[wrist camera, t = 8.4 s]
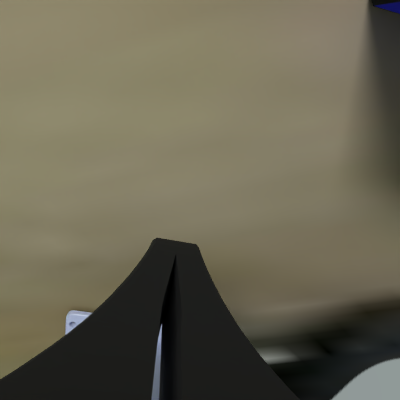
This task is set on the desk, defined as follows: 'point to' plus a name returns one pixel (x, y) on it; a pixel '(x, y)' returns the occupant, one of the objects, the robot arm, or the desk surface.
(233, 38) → the desk surface
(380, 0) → the puzzle cube
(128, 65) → the desk surface
